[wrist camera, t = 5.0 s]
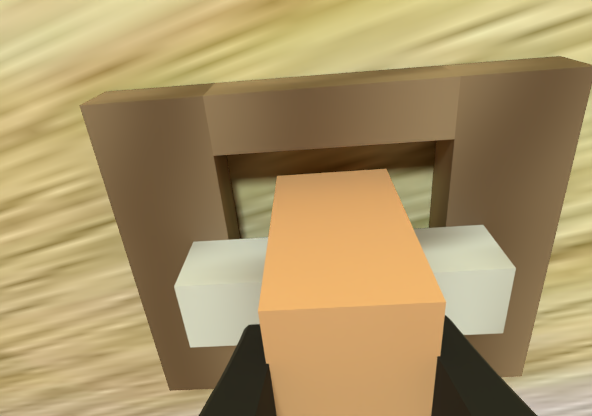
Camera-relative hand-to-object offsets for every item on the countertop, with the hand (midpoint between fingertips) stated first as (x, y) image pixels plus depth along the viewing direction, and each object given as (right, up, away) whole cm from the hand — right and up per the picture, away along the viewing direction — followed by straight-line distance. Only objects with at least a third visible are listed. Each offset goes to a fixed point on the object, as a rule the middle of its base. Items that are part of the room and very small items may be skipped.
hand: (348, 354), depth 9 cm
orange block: (0, +2, +4) cm, 4 cm away
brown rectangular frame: (0, +2, +4) cm, 5 cm away
